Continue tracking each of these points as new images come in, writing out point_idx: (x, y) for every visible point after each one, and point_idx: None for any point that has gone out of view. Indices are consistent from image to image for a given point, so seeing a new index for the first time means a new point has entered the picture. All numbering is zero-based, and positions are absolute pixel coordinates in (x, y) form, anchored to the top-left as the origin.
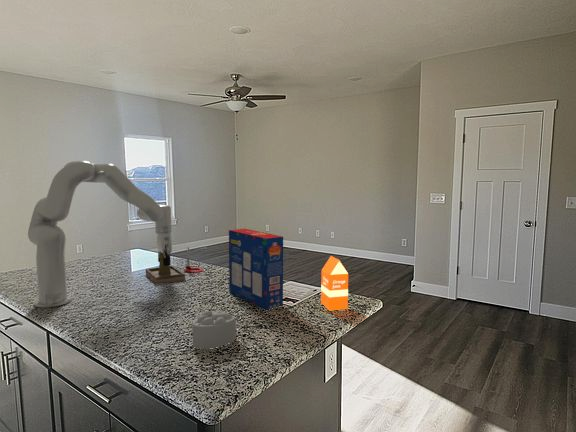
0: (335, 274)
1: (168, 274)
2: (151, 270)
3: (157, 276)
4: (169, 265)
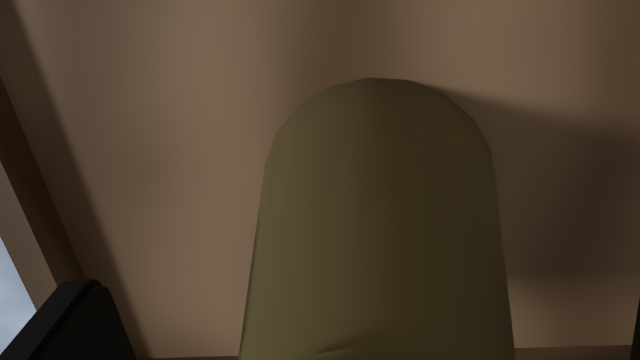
0: None
1: (484, 141)
2: None
3: None
4: (422, 186)
